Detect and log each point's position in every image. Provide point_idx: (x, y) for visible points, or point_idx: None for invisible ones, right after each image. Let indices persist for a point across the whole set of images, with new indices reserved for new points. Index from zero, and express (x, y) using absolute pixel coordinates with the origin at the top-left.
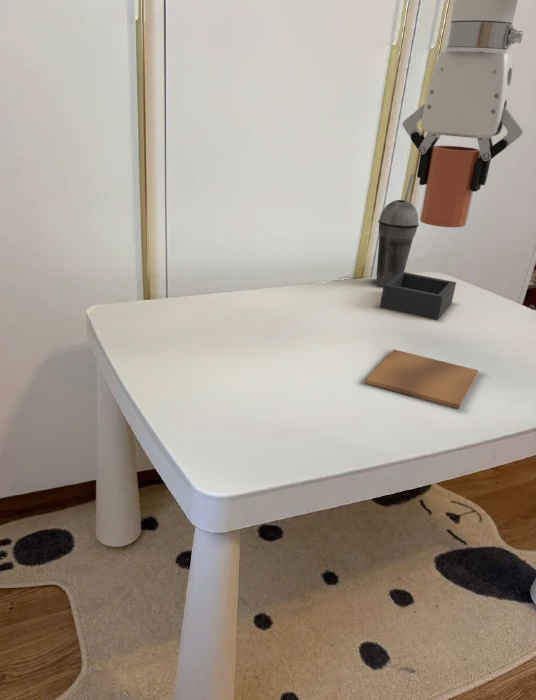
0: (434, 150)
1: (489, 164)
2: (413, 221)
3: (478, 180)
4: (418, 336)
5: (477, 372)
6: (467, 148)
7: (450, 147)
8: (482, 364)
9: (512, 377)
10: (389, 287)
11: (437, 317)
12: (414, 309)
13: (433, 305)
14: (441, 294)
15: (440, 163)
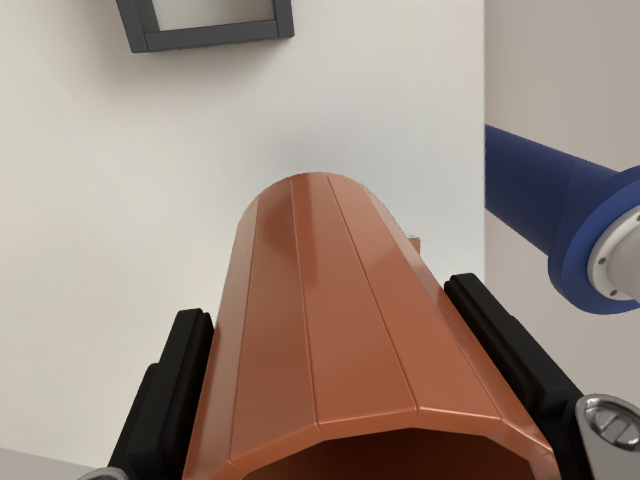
0: None
1: (574, 393)
2: None
3: None
4: (297, 162)
5: (419, 248)
6: (431, 423)
7: (261, 451)
8: (418, 200)
9: (462, 213)
10: (150, 50)
11: (290, 37)
12: (233, 43)
13: (276, 38)
14: (284, 13)
15: None
